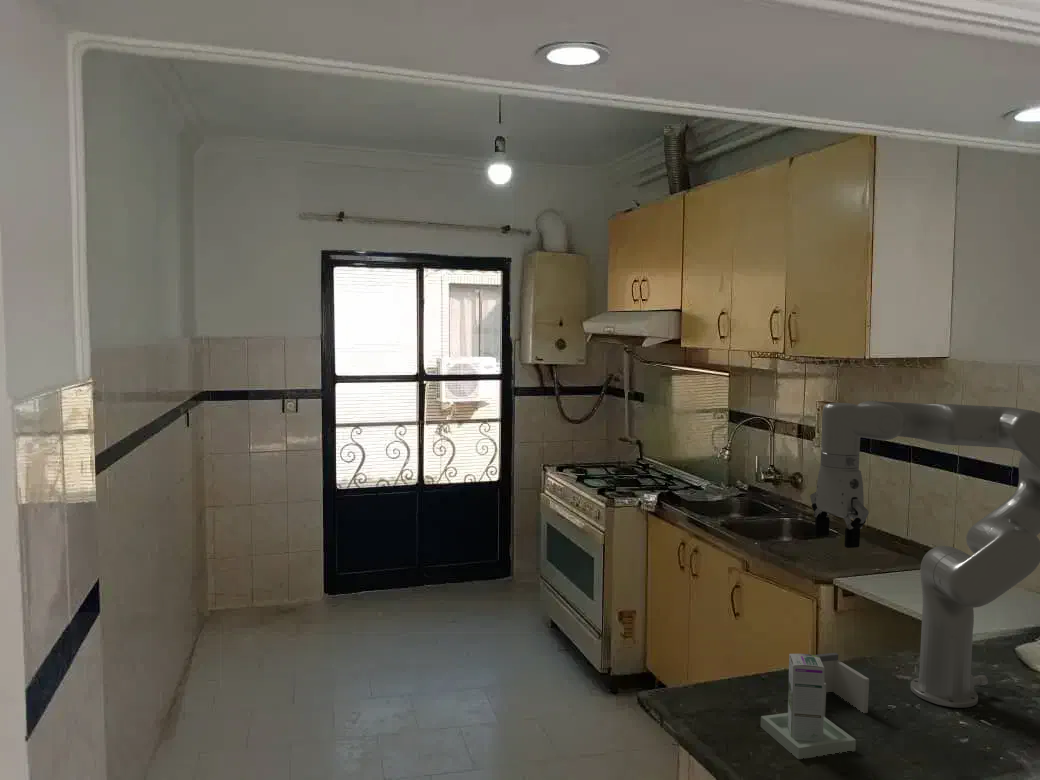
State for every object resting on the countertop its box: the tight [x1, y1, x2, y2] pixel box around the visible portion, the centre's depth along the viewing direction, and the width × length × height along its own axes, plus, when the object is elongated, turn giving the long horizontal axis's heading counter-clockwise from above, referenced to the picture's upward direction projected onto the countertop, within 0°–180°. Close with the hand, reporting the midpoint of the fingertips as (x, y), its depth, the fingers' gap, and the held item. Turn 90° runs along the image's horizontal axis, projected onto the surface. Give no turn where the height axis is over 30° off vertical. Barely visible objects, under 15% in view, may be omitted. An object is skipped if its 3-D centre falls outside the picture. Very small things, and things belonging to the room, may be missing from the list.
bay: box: [815, 652, 870, 718], centre depth 159 cm, size 11×10×8 cm
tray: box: [759, 712, 857, 760], centre depth 145 cm, size 12×12×2 cm
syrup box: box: [787, 653, 825, 742], centre depth 145 cm, size 6×6×14 cm
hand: (836, 541), depth 164 cm, fingers open, 9 cm apart
